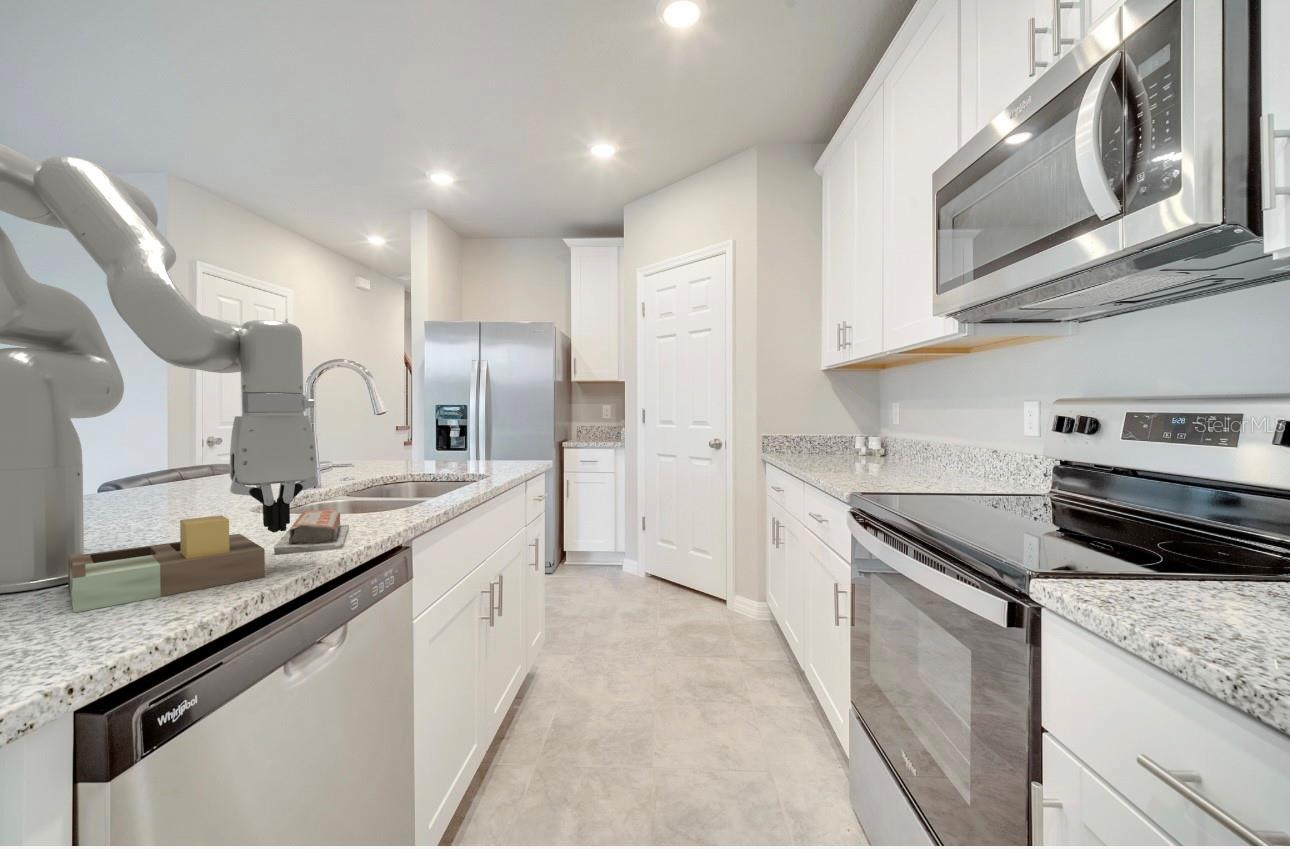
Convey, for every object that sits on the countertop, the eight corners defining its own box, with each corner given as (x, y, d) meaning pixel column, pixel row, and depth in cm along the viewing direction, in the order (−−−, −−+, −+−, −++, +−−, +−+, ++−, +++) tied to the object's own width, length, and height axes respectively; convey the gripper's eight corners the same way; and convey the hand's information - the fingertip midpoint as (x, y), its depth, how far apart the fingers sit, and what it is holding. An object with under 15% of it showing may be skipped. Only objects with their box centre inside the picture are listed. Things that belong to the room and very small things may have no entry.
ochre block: (180, 552, 73) (180, 519, 73) (221, 546, 77) (221, 515, 77) (186, 558, 70) (186, 524, 70) (229, 552, 74) (229, 519, 74)
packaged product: (290, 510, 104) (349, 506, 108) (290, 535, 104) (349, 530, 108) (272, 528, 88) (342, 523, 92) (272, 557, 88) (342, 551, 92)
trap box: (68, 586, 71) (67, 545, 71) (239, 558, 85) (239, 524, 85) (73, 612, 62) (72, 565, 62) (264, 576, 76) (264, 538, 76)
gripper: (321, 406, 87) (323, 519, 88) (203, 406, 76) (207, 535, 77) (338, 406, 82) (341, 525, 83) (215, 406, 71) (219, 544, 72)
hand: (276, 530), depth 80 cm, fingers closed
